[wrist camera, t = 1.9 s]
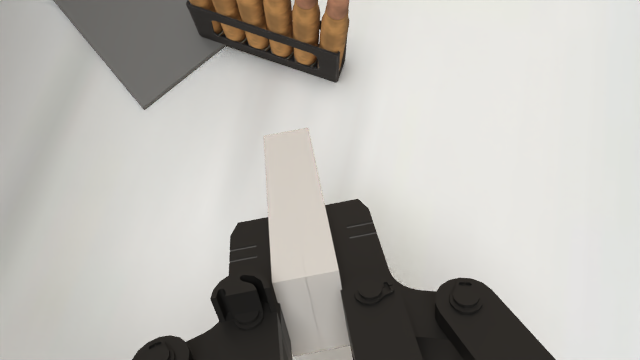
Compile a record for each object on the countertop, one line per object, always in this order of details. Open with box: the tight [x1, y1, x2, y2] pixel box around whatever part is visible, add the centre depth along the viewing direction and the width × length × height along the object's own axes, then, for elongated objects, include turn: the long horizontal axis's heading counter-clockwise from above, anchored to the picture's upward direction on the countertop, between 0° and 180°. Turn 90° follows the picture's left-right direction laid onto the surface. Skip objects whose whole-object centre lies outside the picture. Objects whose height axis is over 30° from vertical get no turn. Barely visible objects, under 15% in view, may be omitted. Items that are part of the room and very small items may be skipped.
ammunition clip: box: [186, 0, 349, 82], centre depth 30 cm, size 11×2×12 cm, turn 71°
